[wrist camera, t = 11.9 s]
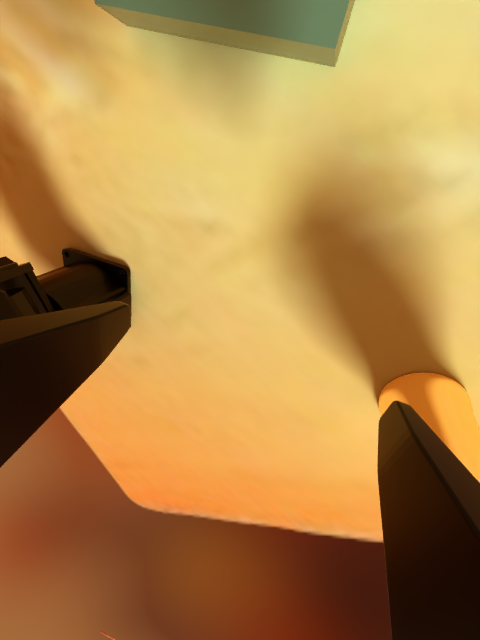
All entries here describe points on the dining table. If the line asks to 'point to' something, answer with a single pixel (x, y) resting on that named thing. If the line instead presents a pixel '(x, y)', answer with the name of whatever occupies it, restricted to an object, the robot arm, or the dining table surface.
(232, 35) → the green slotted board
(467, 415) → the beer glass
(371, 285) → the dining table surface
